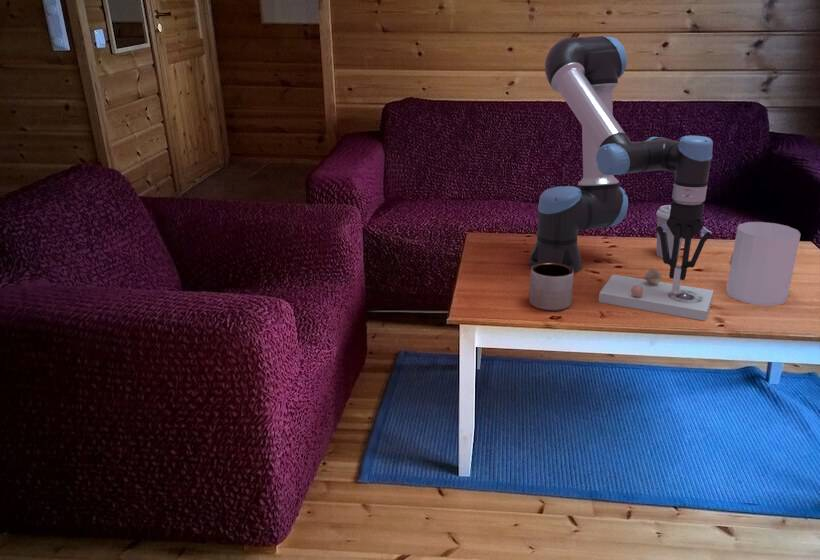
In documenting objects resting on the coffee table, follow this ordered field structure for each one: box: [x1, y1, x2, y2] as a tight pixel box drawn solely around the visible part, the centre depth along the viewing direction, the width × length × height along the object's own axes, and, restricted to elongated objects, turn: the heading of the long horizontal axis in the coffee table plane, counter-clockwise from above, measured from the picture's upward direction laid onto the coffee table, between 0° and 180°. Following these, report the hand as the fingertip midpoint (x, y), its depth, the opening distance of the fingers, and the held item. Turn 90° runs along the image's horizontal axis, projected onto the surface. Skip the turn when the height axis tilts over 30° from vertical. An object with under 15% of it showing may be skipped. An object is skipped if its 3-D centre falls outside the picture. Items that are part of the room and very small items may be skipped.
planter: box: [528, 262, 575, 312], centre depth 173 cm, size 11×11×10 cm
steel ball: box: [677, 292, 691, 300], centre depth 172 cm, size 4×4×4 cm
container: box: [725, 221, 801, 307], centre depth 175 cm, size 14×14×18 cm
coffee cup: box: [655, 204, 684, 259], centre depth 205 cm, size 10×10×15 cm
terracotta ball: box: [631, 285, 643, 297], centre depth 171 cm, size 3×3×3 cm
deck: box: [598, 274, 715, 322], centre depth 175 cm, size 26×15×2 cm, turn 61°
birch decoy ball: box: [644, 268, 662, 284], centre depth 179 cm, size 4×4×4 cm
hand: (675, 290), depth 172 cm, fingers closed
